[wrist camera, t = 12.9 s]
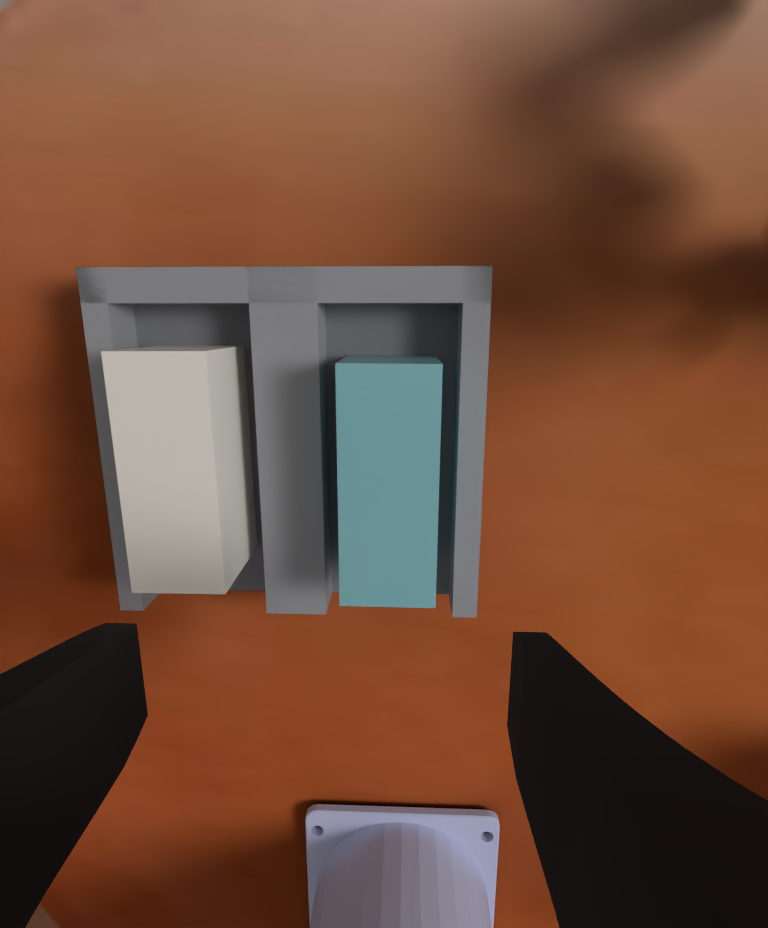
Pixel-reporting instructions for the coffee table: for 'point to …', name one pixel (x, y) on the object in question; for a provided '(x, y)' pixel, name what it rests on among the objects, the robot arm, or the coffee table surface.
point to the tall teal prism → (388, 479)
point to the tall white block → (182, 465)
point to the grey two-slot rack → (308, 398)
